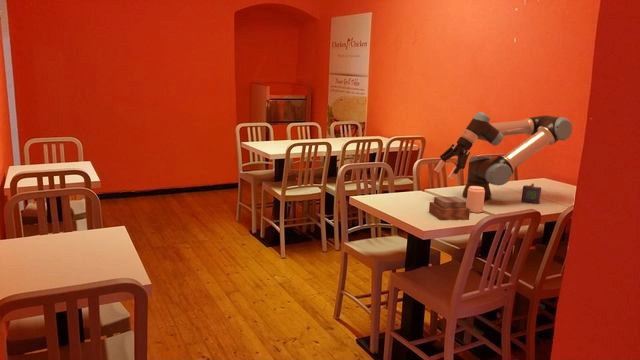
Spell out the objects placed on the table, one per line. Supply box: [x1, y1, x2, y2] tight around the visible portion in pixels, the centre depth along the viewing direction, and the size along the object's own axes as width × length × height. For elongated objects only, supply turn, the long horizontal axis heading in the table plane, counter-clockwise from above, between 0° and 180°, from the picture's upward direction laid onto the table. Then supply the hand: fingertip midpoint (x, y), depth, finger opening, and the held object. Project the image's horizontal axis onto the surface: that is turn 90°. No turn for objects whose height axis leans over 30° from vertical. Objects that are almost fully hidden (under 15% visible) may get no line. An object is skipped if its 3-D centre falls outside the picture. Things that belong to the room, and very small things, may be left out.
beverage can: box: [466, 186, 485, 214], centre depth 257 cm, size 8×8×12 cm
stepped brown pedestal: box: [428, 195, 471, 221], centre depth 247 cm, size 14×14×8 cm
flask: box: [521, 182, 542, 205], centre depth 279 cm, size 9×3×11 cm, turn 74°
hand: (442, 174), depth 266 cm, fingers open, 13 cm apart
